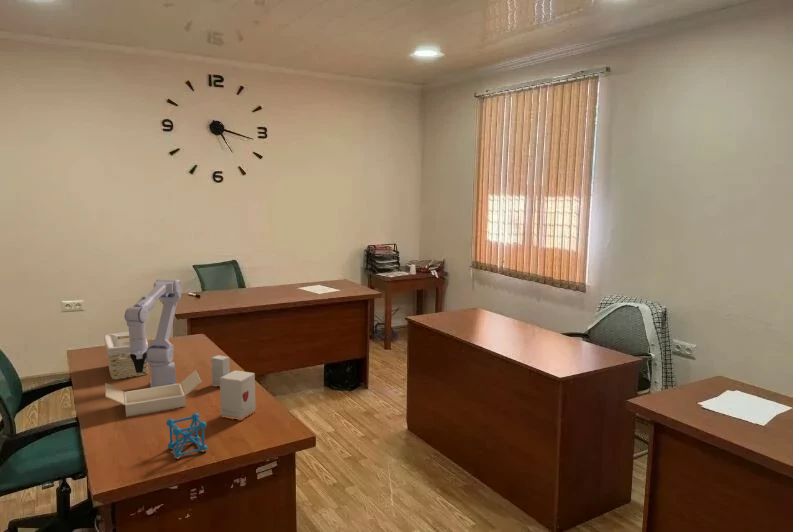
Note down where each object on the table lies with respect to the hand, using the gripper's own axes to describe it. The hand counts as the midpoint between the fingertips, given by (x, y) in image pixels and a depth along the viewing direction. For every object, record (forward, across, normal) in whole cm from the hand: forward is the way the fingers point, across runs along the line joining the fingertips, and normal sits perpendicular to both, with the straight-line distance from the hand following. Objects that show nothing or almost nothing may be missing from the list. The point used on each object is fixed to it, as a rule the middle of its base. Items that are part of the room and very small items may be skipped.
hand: (139, 372), depth 215 cm
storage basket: (+10, -38, -3) cm, 39 cm away
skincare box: (+10, 0, +30) cm, 32 cm away
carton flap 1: (+4, +10, -9) cm, 14 cm away
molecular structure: (+11, +52, +10) cm, 55 cm away
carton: (+10, +10, +4) cm, 15 cm away
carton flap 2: (+3, +10, +17) cm, 20 cm away
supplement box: (+11, +32, +30) cm, 46 cm away
